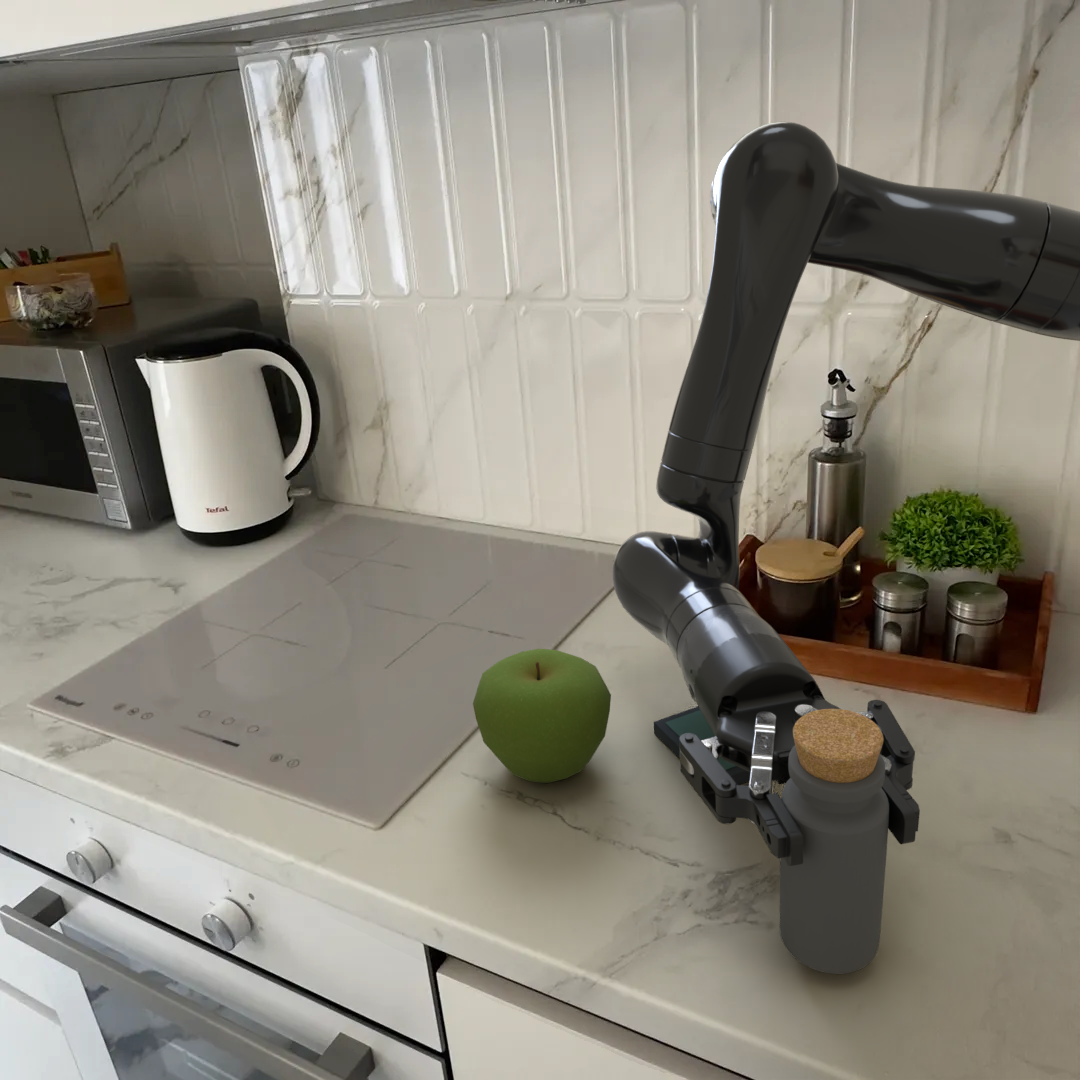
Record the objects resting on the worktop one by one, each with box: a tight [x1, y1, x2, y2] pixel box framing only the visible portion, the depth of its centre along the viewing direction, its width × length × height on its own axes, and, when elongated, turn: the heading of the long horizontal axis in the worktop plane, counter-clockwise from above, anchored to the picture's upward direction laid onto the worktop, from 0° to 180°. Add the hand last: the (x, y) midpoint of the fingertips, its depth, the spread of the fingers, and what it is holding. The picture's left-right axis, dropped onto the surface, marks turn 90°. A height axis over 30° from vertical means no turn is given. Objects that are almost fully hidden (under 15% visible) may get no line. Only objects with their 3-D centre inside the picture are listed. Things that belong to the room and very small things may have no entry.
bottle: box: [779, 708, 889, 975], centre depth 56 cm, size 6×6×15 cm
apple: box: [472, 648, 612, 784], centre depth 76 cm, size 11×10×10 cm
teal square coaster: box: [653, 706, 750, 785], centre depth 79 cm, size 9×9×1 cm
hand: (854, 841), depth 53 cm, fingers closed on bottle, 6 cm apart
